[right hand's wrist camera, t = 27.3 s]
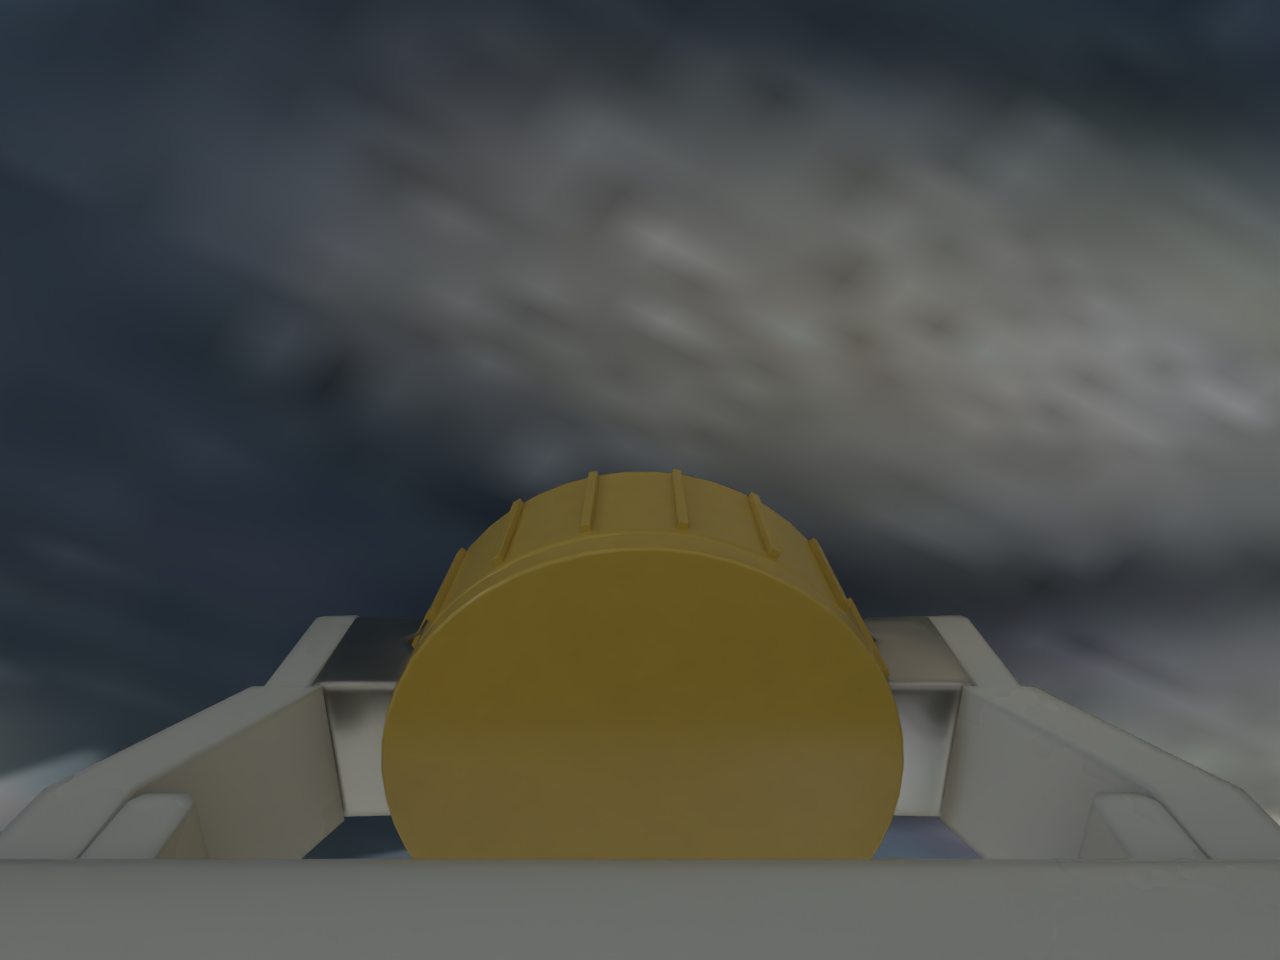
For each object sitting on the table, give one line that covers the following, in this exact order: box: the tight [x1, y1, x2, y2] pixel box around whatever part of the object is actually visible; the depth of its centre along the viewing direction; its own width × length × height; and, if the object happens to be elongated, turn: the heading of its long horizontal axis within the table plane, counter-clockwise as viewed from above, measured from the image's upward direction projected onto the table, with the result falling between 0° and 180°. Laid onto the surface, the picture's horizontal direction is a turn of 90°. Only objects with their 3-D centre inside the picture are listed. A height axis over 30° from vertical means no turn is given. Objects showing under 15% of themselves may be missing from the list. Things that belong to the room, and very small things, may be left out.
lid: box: [381, 469, 904, 859], centre depth 9 cm, size 6×6×2 cm
